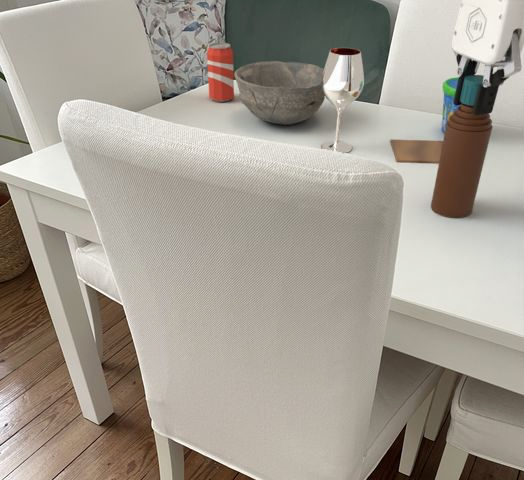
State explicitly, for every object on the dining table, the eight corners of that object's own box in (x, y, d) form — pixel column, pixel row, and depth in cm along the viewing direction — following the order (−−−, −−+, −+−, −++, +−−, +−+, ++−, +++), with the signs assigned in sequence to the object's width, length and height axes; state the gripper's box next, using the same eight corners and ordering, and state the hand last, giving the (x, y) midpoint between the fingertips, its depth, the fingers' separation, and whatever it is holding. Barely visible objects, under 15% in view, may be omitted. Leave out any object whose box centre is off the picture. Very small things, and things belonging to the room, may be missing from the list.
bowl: (266, 143, 119) (267, 92, 112) (218, 115, 132) (216, 68, 125) (344, 124, 127) (349, 77, 121) (291, 100, 140) (293, 55, 134)
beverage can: (238, 97, 142) (237, 44, 134) (224, 104, 138) (222, 49, 130) (218, 93, 144) (216, 40, 136) (204, 100, 140) (201, 46, 132)
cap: (454, 99, 86) (459, 76, 84) (478, 96, 87) (483, 73, 85) (469, 107, 83) (474, 84, 81) (494, 104, 84) (500, 81, 82)
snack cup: (493, 147, 118) (507, 96, 111) (441, 146, 118) (452, 95, 111) (474, 121, 129) (486, 73, 123) (428, 120, 130) (437, 72, 123)
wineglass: (317, 139, 120) (323, 45, 109) (355, 141, 120) (366, 46, 108) (315, 154, 114) (322, 56, 103) (356, 156, 114) (368, 57, 102)
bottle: (460, 197, 100) (487, 75, 87) (479, 215, 95) (511, 87, 82) (424, 201, 99) (446, 78, 86) (441, 219, 94) (468, 91, 81)
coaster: (442, 142, 120) (443, 140, 119) (453, 163, 111) (453, 161, 111) (390, 141, 120) (390, 139, 120) (396, 161, 112) (396, 160, 111)
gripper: (445, -44, 79) (419, 95, 91) (529, -27, 67) (487, 130, 79) (489, -46, 81) (458, 90, 93) (578, -29, 69) (530, 124, 81)
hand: (472, 107), depth 86 cm, fingers closed on cap, 3 cm apart
